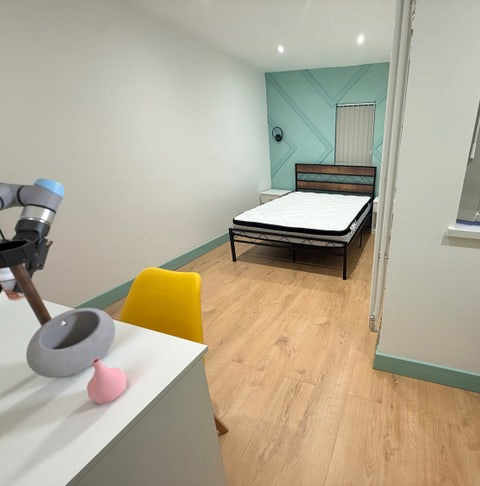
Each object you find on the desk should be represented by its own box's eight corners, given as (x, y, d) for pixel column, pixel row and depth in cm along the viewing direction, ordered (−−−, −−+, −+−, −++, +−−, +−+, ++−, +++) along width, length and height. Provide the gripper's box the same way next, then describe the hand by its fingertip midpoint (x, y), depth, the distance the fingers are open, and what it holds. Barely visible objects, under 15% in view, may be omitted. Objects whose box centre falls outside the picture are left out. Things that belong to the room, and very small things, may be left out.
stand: (42, 372, 74) (-21, 270, 61) (59, 351, 81) (7, 256, 68) (73, 366, 76) (19, 266, 62) (88, 346, 82) (42, 252, 69)
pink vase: (84, 408, 64) (65, 373, 59) (110, 381, 71) (94, 347, 66) (115, 410, 64) (97, 375, 59) (137, 382, 71) (123, 349, 66)
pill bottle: (19, 291, 84) (2, 261, 80) (42, 289, 86) (27, 259, 81) (3, 302, 79) (-16, 271, 74) (28, 300, 80) (11, 268, 76)
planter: (51, 398, 66) (16, 342, 59) (40, 387, 70) (5, 332, 62) (129, 348, 82) (109, 299, 74) (117, 341, 85) (96, 292, 77)
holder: (-26, 271, 60) (-35, 256, 59) (6, 255, 68) (-2, 241, 66) (21, 266, 62) (12, 251, 61) (46, 251, 70) (39, 238, 68)
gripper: (75, 227, 90) (51, 294, 81) (17, 228, 89) (-13, 295, 81) (55, 217, 83) (26, 289, 75) (-9, 218, 82) (-44, 291, 74)
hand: (6, 292), depth 78 cm, fingers closed on pill bottle, 6 cm apart
